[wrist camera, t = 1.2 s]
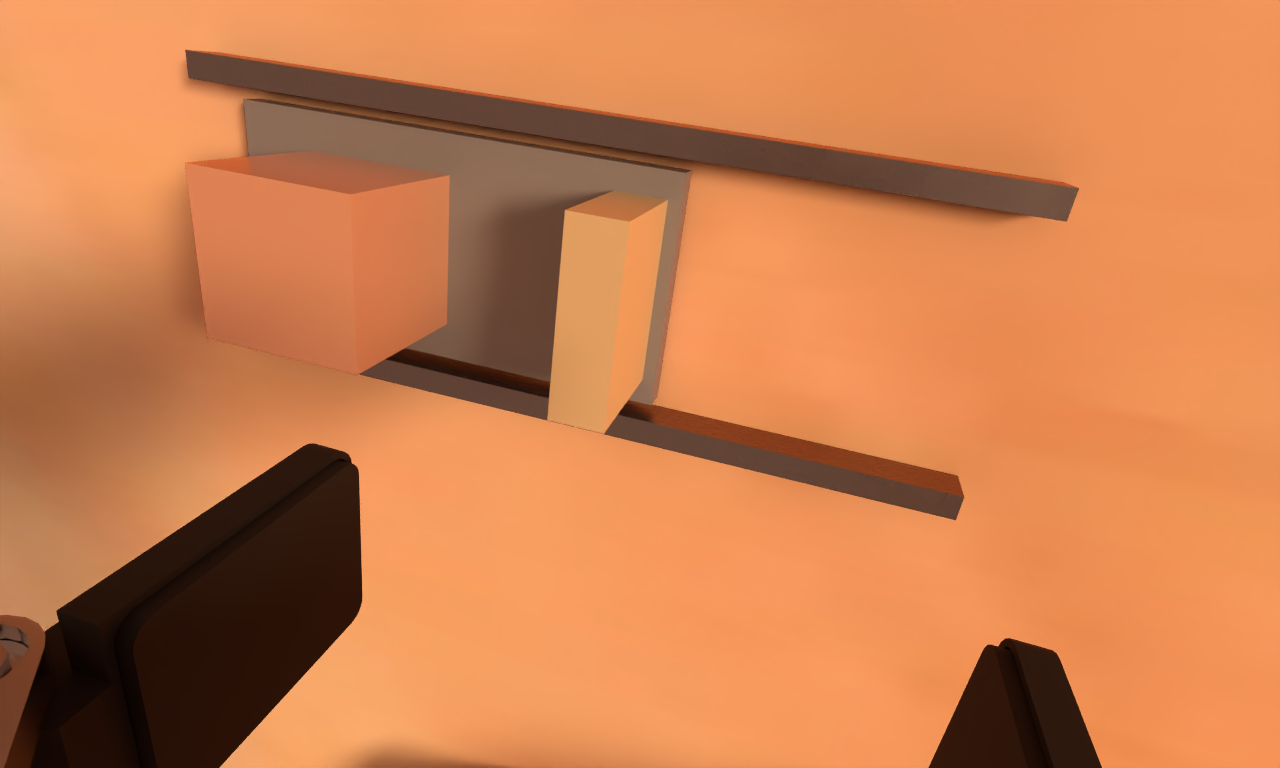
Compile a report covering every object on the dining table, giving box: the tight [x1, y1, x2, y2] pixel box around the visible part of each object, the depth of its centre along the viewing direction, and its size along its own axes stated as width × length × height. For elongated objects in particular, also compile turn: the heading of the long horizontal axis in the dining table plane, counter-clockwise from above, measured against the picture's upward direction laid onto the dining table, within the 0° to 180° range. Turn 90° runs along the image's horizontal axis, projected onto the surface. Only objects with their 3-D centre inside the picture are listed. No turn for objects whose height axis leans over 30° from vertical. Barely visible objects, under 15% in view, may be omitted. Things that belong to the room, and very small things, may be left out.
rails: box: [185, 50, 1079, 520], centre depth 27 cm, size 12×32×2 cm, turn 82°
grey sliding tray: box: [243, 99, 692, 434], centre depth 26 cm, size 18×9×6 cm, turn 82°
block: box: [185, 151, 450, 375], centre depth 26 cm, size 6×6×6 cm
